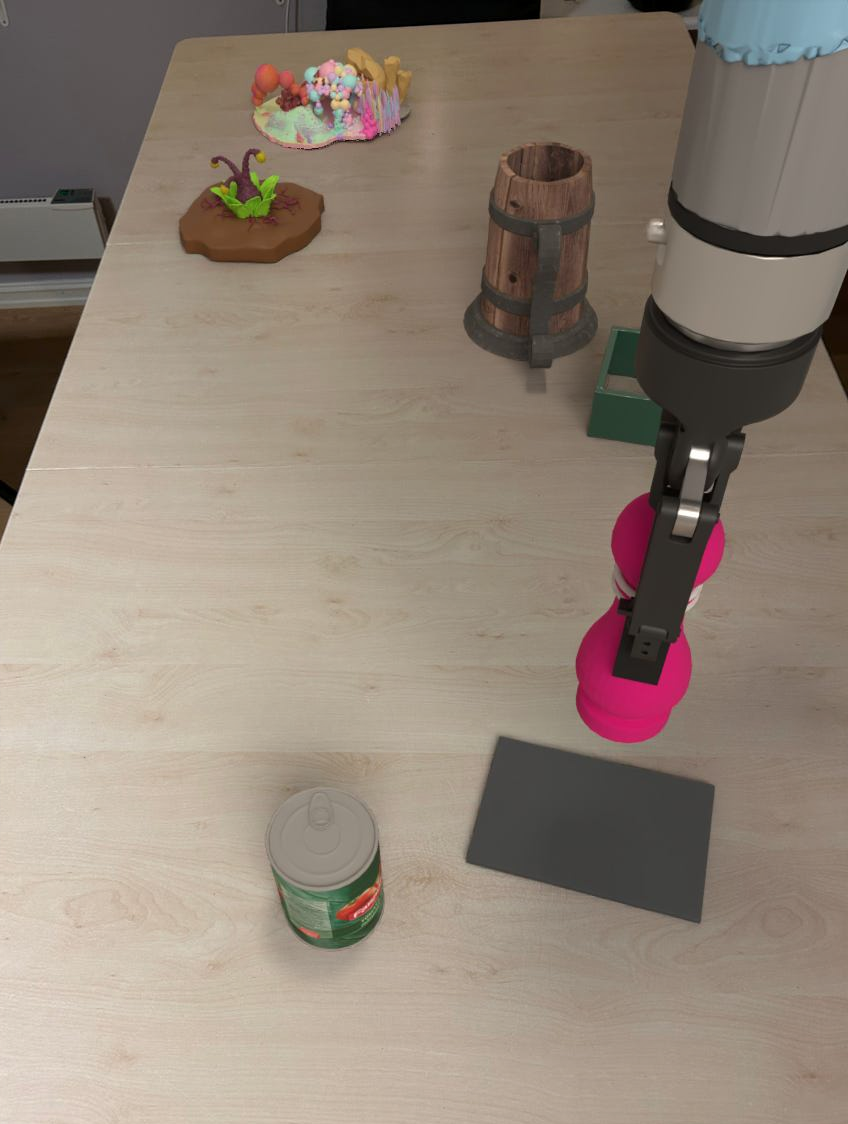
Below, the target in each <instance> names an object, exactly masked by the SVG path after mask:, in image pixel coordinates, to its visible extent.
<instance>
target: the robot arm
mask: <svg viewBox="0 0 848 1124" xmlns="http://www.w3.org/2000/svg"><path fill="white" fill-rule="evenodd" d="M696 30H697V39H696V45H695V49H694V56H693V59H692V65H691V71H690V76H689V82H688V87H687V93H686V98H685V102H684V106H683V107H684V108H683V113H682V118H681V124H680V129H679V134H678V140H677V145H676V149H675V155H674V161H673V167H672V171H671V176H670V178H671V181H670V185H669V189H668V194H667V203H666V206H665V211H664V218H660V217H659V218H658V217H657V218H656V217H655V218H651V219H649V221H647V223H646V226H645V229H644V233H643V234H644V235H643V236H644V239H645V240H646V241H647V242H648V243H649V244H650V243H651V244H654V245H659V246H658V248H657V252H656V256H655V259H654V264H653V265H654V266H653V270H652V276H651V281H650V294H649V296H648V298H647V299H646V302H645V304H644V309H643V313H642V320H641V323H640V328H639V329H640V334H639V339H638V344H637V349H636V354H635V359H634V371H635V375H636V377H635V378H636V381H637V383H638V385H639V387H640V389H641V390H642V392H643V393H644V395H647V396H648V397H649V398H650V399H651V400H652V401H653V402H655V403H656V404H657V405H659V406H660V407H661V408H663V409H662V413H661V418H660V427H659V431H658V435H657V440H656V444H655V446H654V450H653V457H654V459H655V461H656V463H655V466H654V467H655V468H654V472H653V476H652V480H651V485H650V488H649V492H650V494H649V499H648V503H649V505H650V507H651V508H652V509H654V510H655V515H654V519H653V523H652V528H651V532H650V536H649V540H648V544H647V548H646V552H645V556H644V561H643V565H642V569H641V573H640V577H639V581H638V585H637V590H636V594H635V597H633V596H631V600H630V599H625V598H620V600H619V605H618V609H617V614H619V615H624V616H626V620H625V624H624V627H623V631H622V635H621V639H620V643H619V647H618V651H617V655H616V659H615V663H614V667H613V672H612V676H613V677H618V678H623V679H627V680H632V681H637V682H641V683H646V684H651V685H655V686H657V685H658V682H659V679H660V676H661V673H662V670H663V667H664V663H665V660H666V657H667V654H668V651H669V648H670V645H671V643H673V644H675V642H677V638H679V637H680V633H681V628H680V627H681V624H682V621H683V617H684V618H685V616H684V614H685V615H686V612H685V611H686V608H687V605H688V602H689V599H690V596H691V592H692V589H693V586H694V583H695V580H696V577H697V574H698V571H699V567H700V564H701V561H702V558H703V555H704V552H705V549H706V546H707V543H708V541H709V538H710V536H711V534H712V531H713V529H714V526H715V525H716V524H718V522H719V518H720V519H721V512H720V510H721V507H722V504H723V500H724V497H725V493H726V489H727V485H728V483H729V479H730V476H731V474H732V473H734V472H735V471H736V470H737V469H738V467H739V466H740V461H741V458H742V454H743V451H744V447H745V443H746V438H747V437H746V436H747V433H746V432H742V430H743V428H744V427H746V426H749V425H753V424H757V423H760V422H764V421H767V420H770V419H772V418H774V417H776V416H778V415H780V414H781V413H783V412H784V411H785V410H787V409H788V408H790V407H791V405H792V404H793V403H795V401H796V400H797V398H798V397H799V395H800V394H801V392H802V389H803V387H804V384H805V381H806V379H807V376H808V373H809V370H810V369H811V365H812V362H813V360H814V357H815V354H816V352H817V349H818V346H819V343H820V341H821V338H822V335H823V330H824V323H825V322H826V321H827V320H829V318H830V316H831V313H832V311H833V308H834V306H835V303H836V300H837V298H838V296H839V292H840V290H841V288H842V284H843V282H844V279H845V276H846V274H847V271H848V0H702V2H701V3H700V5H699V10H698V15H697V21H696ZM668 485H669V486H670V487H667V486H668ZM710 489H711V490H710ZM709 490H710V491H709ZM683 622H684V621H683Z"/></svg>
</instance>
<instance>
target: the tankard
mask: <svg viewBox="0 0 848 1124" xmlns="http://www.w3.org/2000/svg"><path fill="white" fill-rule="evenodd" d="M593 184H594V183H593V161H592V157H591V155H590V154H589V153H588V152H587V151H584V150H582V149H579V148H576V147H572V146H571V145H568V144H566V143H562V142H556V141H535V142H527V143H524V144H521V145H518V146H516V147H514V148H512V149H510V150H508V151H506V152H504V153H502V154H501V155H500V157H499V161H498V165H497V171H496V175H495V179H494V183H493V186H492V188H491V190H490V192H489V197H488V198H489V199H488V211H487V212H488V215H489V220H488V230H487V241H486V251H485V252H486V253H485V263H484V265H483V267H482V270H481V280H480V289H481V291H480V292H479V293H478V295H476V297H475V299H473V301H472V302H471V303H470V304H469V305H468V306H467V308H466V310H465V312H464V315H463V326H464V330H465V332H466V334H467V336H468V337H469V338H470V339H471V340H472V341H473V343H475V344H476V345H477V346H479V347H480V348H481V349H483V350H485V351H486V352H489V353H492V354H493V355H496V356H500V357H503V358H506V359H512V360H517V361H528V368H529V369H532V370H535V369H539V370H541V369H543V370H544V369H550V368H552V365H553V360H555V359H559V358H563V357H566V356H568V355H572V354H574V353H577V352H578V351H580V350H581V349H583V348H584V347H586V346H587V345H588V344H590V343H591V341H593V339H594V337H595V336H596V335H597V331H598V329H599V318H598V315H597V312H596V311H595V309H594V308H593V306H592V305H591V303H590V301H589V299H588V298H587V297H586V294H587V292H588V286H589V285H588V284H589V270H588V259H589V248H590V237H591V226H592V219H593V217H594V214H595V208H596V207H595V205H596V193H595V191H594V188H593V187H594V185H593Z"/></svg>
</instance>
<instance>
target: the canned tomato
mask: <svg viewBox="0 0 848 1124" xmlns="http://www.w3.org/2000/svg"><path fill="white" fill-rule="evenodd" d="M380 845H381V844H380V829H379V826H378V821H377V819H376V816H375V815H374V813H373V810H372V808H371V807H370V806H369V805H368V803H367V802H366V801H364V800H363V799H362V798H361V797H359V795H357V794H355V793H354V792H351V791H349V790H347V789H344V788H341V787H336V786H328V785H326V786H325V785H323V786H314V787H310V788H306V789H303V790H301V791H298V792H296V793H294V794H293V795H291V796H289V797H288V798H286V799H285V800H284V801H283V802H282V803H281V804H280V805H279V806H278V807H277V809H275V811H274V812H273V814H272V815H271V817H270V820H269V822H268V823H267V827H266V831H265V839H264V846H265V851H266V856H267V859H268V861H269V864H270V865H269V866H270V869H271V871H272V875H273V878H274V883H275V886H276V889H277V892H278V896H279V899H280V902H281V905H282V910H283V912H284V918H285V921H286V923H287V925H288V927H289V928H290V930H291V931H292V934H293V935H294V936H296V938H297V939H299V941H300V942H302V943H304V944H305V945H307V946H308V947H310V948H313V949H316V950H319V951H325V952H340V951H345V950H350V949H352V948H354V947H356V946H358V945H360V944H362V943H363V942H364V941H366V940H367V939H368V938H370V936H372V934H373V933H374V932H375V931H376V929H377V928H378V926H379V924H380V922H381V920H382V918H383V915H384V911H385V904H386V900H385V891H384V879H383V869H382V868H383V867H382V866H383V865H382V857H381V856H382V855H381V846H380Z"/></svg>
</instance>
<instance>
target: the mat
mask: <svg viewBox="0 0 848 1124" xmlns="http://www.w3.org/2000/svg"><path fill="white" fill-rule="evenodd" d="M715 790H716V786H715V785H713V784H709V783H704V782H700V781H696V780H691V779H687V778H684V777H678V776H674V775H670V774H666V773H662V772H658V771H657V772H656V771H653V770H648V769H645V768H639V767H635V766H631V765H626V764H622V763H618V762H613V761H610V760H604V759H601V758H597V757H592V756H588V755H583V754H579V753H575V752H570V751H566V750H562V749H557V748H554V747H549V746H545V745H541V744H536V743H532V742H527V741H523V740H519V739H515V738H511V737H504V736H501V735H500V736H499V737H498V740H497V743H496V746H495V749H494V754H493V758H492V761H491V765H490V769H489V772H488V777H487V780H486V783H485V788H484V791H483V795H482V799H481V802H480V806H479V810H478V813H477V817H476V820H475V825H474V828H473V832H472V836H471V839H470V843H469V846H468V850H467V854H466V858H465V863H467V864H470V865H474V866H478V867H482V868H486V869H489V870H492V871H493V870H494V871H497V872H500V873H505V874H508V875H511V876H512V875H513V876H516V877H520V878H523V879H528V880H531V881H535V882H539V883H542V884H543V883H544V884H546V885H550V886H554V887H557V888H561V889H566V890H569V891H573V892H577V893H579V894H580V893H581V894H585V895H588V896H591V897H596V898H600V899H603V900H607V901H611V902H615V903H619V904H622V905H626V906H630V907H634V908H637V909H640V910H644V911H645V910H646V911H648V912H653V913H657V914H661V915H664V916H668V917H672V918H676V919H678V920H683V921H686V922H690V923H695V924H700V923H701V922H702V913H703V907H704V906H703V905H704V897H705V888H706V887H705V886H706V877H707V866H708V857H709V848H710V840H711V839H710V838H711V828H712V820H713V812H714V801H715V800H714V799H715Z"/></svg>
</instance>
